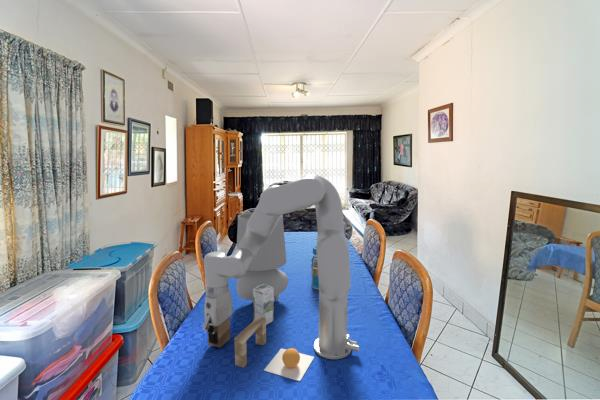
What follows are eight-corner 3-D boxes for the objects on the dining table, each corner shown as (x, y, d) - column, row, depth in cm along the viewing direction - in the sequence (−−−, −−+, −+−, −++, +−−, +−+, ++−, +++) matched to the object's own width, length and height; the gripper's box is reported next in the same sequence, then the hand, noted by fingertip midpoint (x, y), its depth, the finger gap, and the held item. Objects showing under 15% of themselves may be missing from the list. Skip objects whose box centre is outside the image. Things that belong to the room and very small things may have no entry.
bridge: (266, 342, 114) (265, 318, 112) (243, 367, 100) (242, 340, 99) (258, 340, 115) (258, 316, 113) (235, 365, 102) (234, 338, 100)
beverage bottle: (308, 284, 163) (308, 245, 160) (324, 282, 165) (324, 244, 162) (314, 291, 155) (314, 250, 152) (330, 288, 157) (331, 249, 154)
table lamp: (282, 289, 157) (281, 208, 151) (295, 310, 137) (295, 217, 130) (234, 296, 150) (231, 211, 144) (240, 319, 129) (237, 221, 123)
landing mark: (314, 357, 105) (314, 356, 105) (299, 381, 94) (299, 380, 94) (281, 348, 110) (281, 348, 110) (263, 370, 99) (263, 370, 99)
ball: (302, 347, 102) (287, 342, 104) (295, 356, 97) (279, 351, 99) (302, 363, 103) (287, 358, 105) (295, 373, 98) (279, 368, 100)
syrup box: (263, 316, 131) (263, 282, 129) (274, 321, 128) (273, 286, 125) (253, 322, 127) (252, 287, 125) (263, 327, 123) (263, 291, 121)
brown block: (230, 338, 114) (229, 317, 113) (220, 347, 109) (218, 325, 108) (218, 335, 116) (217, 314, 115) (207, 344, 111) (206, 322, 110)
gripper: (209, 301, 100) (212, 354, 103) (240, 280, 116) (242, 327, 119) (190, 297, 103) (193, 349, 106) (223, 277, 119) (225, 323, 122)
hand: (219, 337), depth 112 cm, fingers closed on brown block, 6 cm apart
